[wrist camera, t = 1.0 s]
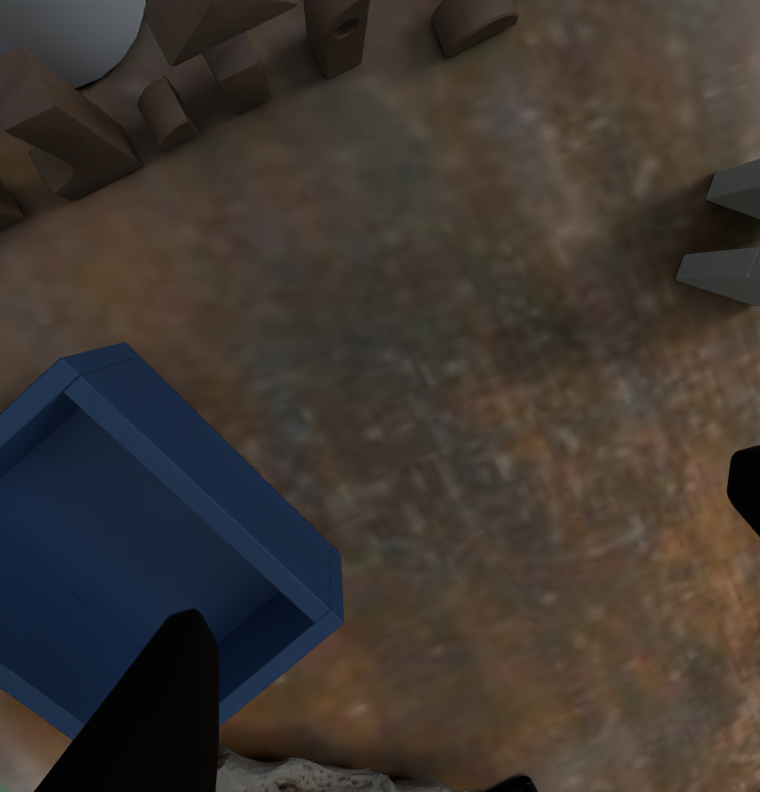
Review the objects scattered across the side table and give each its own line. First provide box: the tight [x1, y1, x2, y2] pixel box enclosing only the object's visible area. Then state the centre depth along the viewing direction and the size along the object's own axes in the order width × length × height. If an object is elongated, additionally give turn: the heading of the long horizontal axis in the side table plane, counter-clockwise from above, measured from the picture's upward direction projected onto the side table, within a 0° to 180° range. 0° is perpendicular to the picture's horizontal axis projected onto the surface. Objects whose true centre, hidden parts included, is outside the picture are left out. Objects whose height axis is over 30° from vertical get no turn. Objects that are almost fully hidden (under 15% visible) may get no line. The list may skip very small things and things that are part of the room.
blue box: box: [0, 342, 344, 740], centre depth 20 cm, size 14×11×5 cm
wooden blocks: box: [0, 0, 519, 229], centre depth 15 cm, size 30×3×7 cm, turn 116°
